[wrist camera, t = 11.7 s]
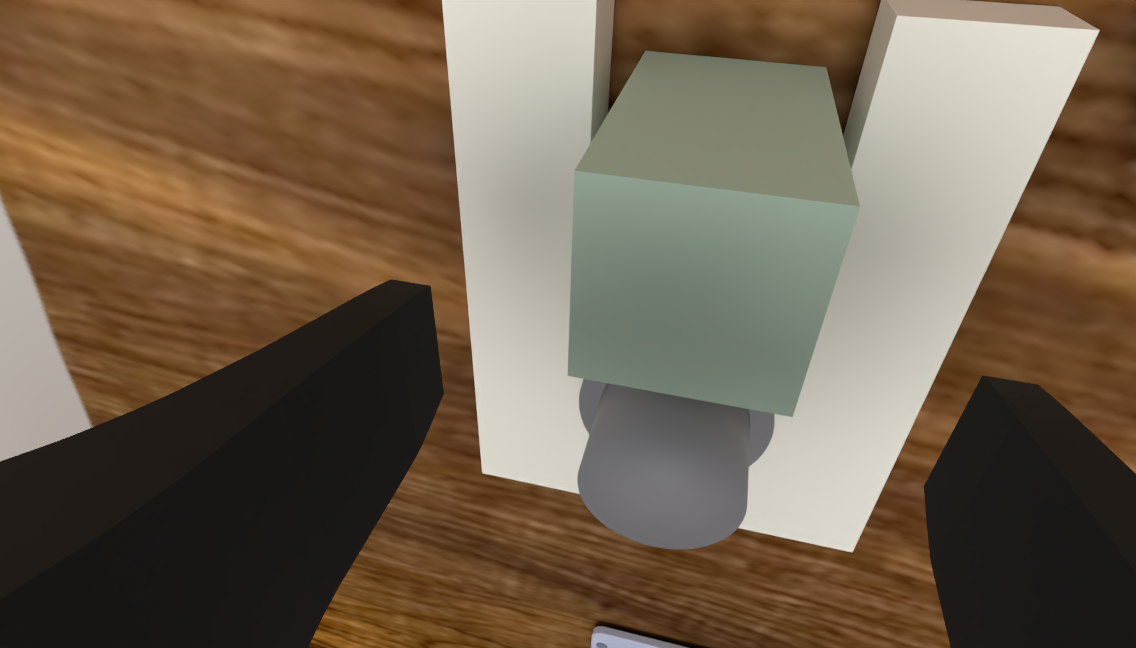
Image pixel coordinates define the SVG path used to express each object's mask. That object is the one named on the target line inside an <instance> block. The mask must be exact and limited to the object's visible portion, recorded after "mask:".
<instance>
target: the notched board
mask: <svg viewBox="0 0 1136 648" xmlns="http://www.w3.org/2000/svg"><path fill="white" fill-rule="evenodd" d="M614 2H615V0H442V6H443V17H444V29H445V41H446V53H447V65H448V76H449V88H450V100H451V112H452V123H453V135H454V147H455V159H456V170H457V182H458V194H459V206H460V217H461V229H462V241H463V253H464V265H465V276H466V288H467V300H468V312H469V323H470V335H471V347H472V359H473V370H474V382H475V394H476V406H477V417H478V429H479V441H480V453H481V465H482V473H485V474H489V475H494V476H499V477H503V478H508V479H513V480H517V481H522V482H527V483H531V484H536V485H541V486H545V487H550V488H555V489H559V490H564V491H569V492H573V493H578V494H580V495H581V498H582V500H583V502H584V503H585V505H586V507H587V508H588V509H589V511H590V512H591V513H592V514H593V515H594V516H595V517H596V518H597V519H598V520H599V521H600V522H601V523H603V524H604V525H605V526H607V527H608V528H610V529H611V530H613V531H614V532H616V533H618V534H620V535H621V536H624V537H626V538H628V539H630V540H633V541H636V542H638V543H641V544H645V545H649V546H653V547H659V548H666V549H693V548H700V547H704V546H708V545H712V544H714V543H717V542H719V541H721V540H723V539H725V538H727V537H728V536H729V535H731V534H732V533H733V532H734V531H735V530H736V529H737V528H741V529H746V530H750V531H755V532H760V533H764V534H769V535H774V536H778V537H783V538H788V539H792V540H797V541H802V542H806V543H811V544H816V545H820V546H825V547H830V548H834V549H839V550H844V551H848V552H853V550H854V548H855V546H856V544H857V542H858V540H859V537H860V535H861V533H862V531H863V529H864V527H865V525H866V523H867V521H868V518H869V516H870V514H871V512H872V510H873V508H874V506H875V504H876V502H877V499H878V497H879V495H880V493H881V491H882V489H883V487H884V485H885V483H886V480H887V478H888V476H889V474H890V472H891V470H892V468H893V466H894V464H895V461H896V459H897V457H898V455H899V453H900V451H901V449H902V447H903V445H904V442H905V440H906V438H907V436H908V434H909V432H910V430H911V428H912V426H913V423H914V421H915V419H916V417H917V415H918V413H919V411H920V409H921V407H922V404H923V402H924V400H925V398H926V396H927V394H928V392H929V390H930V388H931V385H932V383H933V381H934V379H935V377H936V375H937V373H938V371H939V369H940V366H941V364H942V362H943V360H944V358H945V356H946V354H947V352H948V350H949V347H950V345H951V343H952V341H953V339H954V337H955V335H956V333H957V331H958V328H959V326H960V324H961V322H962V320H963V318H964V316H965V314H966V312H967V309H968V307H969V305H970V303H971V301H972V299H973V297H974V295H975V293H976V290H977V288H978V286H979V284H980V282H981V280H982V278H983V276H984V274H985V271H986V269H987V267H988V265H989V263H990V261H991V259H992V257H993V255H994V252H995V250H996V248H997V246H998V244H999V242H1000V240H1001V238H1002V236H1003V233H1004V231H1005V229H1006V227H1007V225H1008V223H1009V221H1010V219H1011V217H1012V214H1013V212H1014V210H1015V208H1016V206H1017V204H1018V202H1019V200H1020V198H1021V195H1022V193H1023V191H1024V189H1025V187H1026V185H1027V183H1028V181H1029V179H1030V176H1031V174H1032V172H1033V170H1034V168H1035V166H1036V164H1037V162H1038V160H1039V157H1040V155H1041V153H1042V151H1043V149H1044V147H1045V145H1046V143H1047V141H1048V138H1049V136H1050V134H1051V132H1052V130H1053V128H1054V126H1055V124H1056V122H1057V119H1058V117H1059V115H1060V113H1061V111H1062V109H1063V107H1064V105H1065V103H1066V100H1067V98H1068V96H1069V94H1070V92H1071V90H1072V88H1073V86H1074V84H1075V81H1076V79H1077V77H1078V75H1079V73H1080V71H1081V69H1082V67H1083V65H1084V62H1085V60H1086V58H1087V56H1088V54H1089V52H1090V50H1091V48H1092V46H1093V43H1094V41H1095V39H1096V37H1097V35H1098V33H1099V31H1100V30H1098V29H1097V28H1095V27H1093V26H1092V25H1090V24H1088V23H1087V22H1085V21H1083V20H1081V19H1080V18H1078V17H1076V16H1075V15H1073V14H1071V13H1070V12H1068V11H1066V10H1065V9H1063V8H1061V7H1057V6H1043V5H1028V4H1013V3H998V2H983V1H968V0H881V2H880V6H879V9H878V13H877V16H876V20H875V24H874V27H873V31H872V34H871V38H870V41H869V45H868V49H867V52H866V56H865V59H864V63H863V66H862V70H861V74H860V77H859V81H858V84H857V88H856V91H855V95H854V99H853V102H852V106H851V109H850V113H849V116H848V120H847V124H846V127H845V131H844V134H843V138H844V142H845V147H846V151H847V155H848V159H849V163H850V167H851V171H852V175H853V180H854V184H855V188H856V192H857V196H858V200H859V204H860V209H859V212H858V215H857V218H856V221H855V224H854V227H853V230H852V233H851V237H850V240H849V243H848V246H847V249H846V252H845V255H844V258H843V261H842V265H841V268H840V271H839V274H838V277H837V280H836V283H835V286H834V290H833V293H832V296H831V299H830V302H829V305H828V308H827V311H826V314H825V318H824V321H823V324H822V327H821V330H820V333H819V336H818V339H817V343H816V346H815V349H814V352H813V355H812V358H811V361H810V364H809V367H808V371H807V374H806V377H805V380H804V383H803V386H802V389H801V392H800V395H799V399H798V402H797V405H796V408H795V411H794V414H793V417H789V416H783V415H778V414H773V413H767V412H762V411H756V410H751V409H745V408H740V407H734V406H729V405H724V404H718V403H713V402H707V401H702V400H696V399H691V398H685V397H680V396H675V395H669V394H664V393H658V392H653V391H647V390H642V389H636V388H631V387H626V386H620V385H615V384H609V383H604V382H598V381H593V380H587V379H582V378H577V377H571V376H568V347H569V317H570V287H571V257H572V228H573V198H574V170H575V169H576V167H577V165H578V164H579V162H580V160H581V159H582V157H583V155H584V154H585V152H586V150H587V149H588V147H589V145H590V143H591V142H592V140H593V138H594V137H595V135H596V133H597V132H598V130H599V128H600V127H601V125H602V123H603V121H604V120H605V118H606V116H607V115H608V105H609V87H610V70H611V53H612V36H613V19H614Z"/></svg>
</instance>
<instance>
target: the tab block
mask: <svg viewBox="0 0 1136 648" xmlns="http://www.w3.org/2000/svg"><path fill="white" fill-rule="evenodd" d="M859 209H860V204H859V200H858V196H857V192H856V188H855V184H854V180H853V175H852V171H851V167H850V163H849V159H848V155H847V151H846V147H845V142H844V138H843V134H842V130H841V126H840V122H839V118H838V114H837V109H836V105H835V101H834V97H833V93H832V89H831V85H830V81H829V76H828V72H827V68H826V67H817V66H807V65H796V64H785V63H774V62H763V61H752V60H741V59H730V58H719V57H708V56H697V55H686V54H675V53H664V52H653V51H645V52H644V54H643V56H642V57H641V59H640V61H639V62H638V64H637V66H636V67H635V69H634V71H633V73H632V74H631V76H630V78H629V79H628V81H627V83H626V84H625V86H624V88H623V89H622V91H621V93H620V94H619V96H618V98H617V100H616V101H615V103H614V105H613V106H612V108H611V110H610V111H609V113H608V115H607V116H606V118H605V120H604V121H603V123H602V125H601V127H600V128H599V130H598V132H597V133H596V135H595V137H594V138H593V140H592V142H591V143H590V145H589V147H588V149H587V150H586V152H585V154H584V155H583V157H582V159H581V160H580V162H579V164H578V165H577V167H576V169H575V170H574V198H573V228H572V257H571V287H570V317H569V347H568V376H571V377H577V378H582V379H587V380H593V381H598V382H604V383H609V384H615V385H620V386H626V387H631V388H636V389H642V390H647V391H653V392H658V393H664V394H669V395H675V396H680V397H685V398H691V399H696V400H702V401H707V402H713V403H718V404H724V405H729V406H734V407H740V408H745V409H751V410H756V411H762V412H767V413H773V414H778V415H783V416H789V417H793V414H794V411H795V408H796V405H797V402H798V399H799V395H800V392H801V389H802V386H803V383H804V380H805V377H806V374H807V371H808V367H809V364H810V361H811V358H812V355H813V352H814V349H815V346H816V343H817V339H818V336H819V333H820V330H821V327H822V324H823V321H824V318H825V314H826V311H827V308H828V305H829V302H830V299H831V296H832V293H833V290H834V286H835V283H836V280H837V277H838V274H839V271H840V268H841V265H842V261H843V258H844V255H845V252H846V249H847V246H848V243H849V240H850V237H851V233H852V230H853V227H854V224H855V221H856V218H857V215H858V212H859Z"/></svg>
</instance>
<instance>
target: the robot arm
mask: <svg viewBox="0 0 1136 648" xmlns="http://www.w3.org/2000/svg"><path fill="white" fill-rule="evenodd" d="M443 394H444V392H443V384H442V376H441V367H440V359H439V351H438V343H437V335H436V327H435V319H434V310H433V302H432V294H431V286H428V285H422V284H415V283H409V282H403V281H397V280H389V281H387V282H385V283H382V284H380V285H378V286H376V287H374V288H372V289H370V290H368V291H366V292H364V293H363V294H361V295H359V296H357V297H355V298H353V299H351V300H350V301H348V302H346V303H344V304H342V305H340V306H339V307H337V308H335V309H333V310H331V311H330V312H328V313H326V314H324V315H322V316H321V317H319V318H317V319H315V320H313V321H311V322H310V323H308V324H306V325H304V326H302V327H300V328H299V329H297V330H295V331H293V332H291V333H289V334H288V335H286V336H284V337H282V338H280V339H278V340H277V341H275V342H273V343H271V344H269V345H267V346H266V347H264V348H262V349H260V350H258V351H256V352H254V353H252V354H250V355H248V356H246V357H244V358H242V359H240V360H238V361H236V362H234V363H232V364H230V365H228V366H226V367H224V368H222V369H220V370H218V371H216V372H214V373H212V374H210V375H208V376H206V377H204V378H202V379H200V380H198V381H196V382H194V383H192V384H190V385H188V386H186V387H184V388H182V389H180V390H178V391H176V392H174V393H172V394H169V395H167V396H165V397H163V398H161V399H159V400H156V401H154V402H152V403H150V404H147V405H145V406H143V407H140V408H138V409H136V410H134V411H131V412H129V413H127V414H124V415H122V416H119V417H117V418H114V419H112V420H110V421H107V422H105V423H102V424H100V425H97V426H95V427H93V428H90V429H88V430H85V431H83V432H81V433H78V434H75V435H73V436H70V437H68V438H65V439H62V440H60V441H57V442H54V443H52V444H49V445H46V446H43V447H40V448H38V449H35V450H32V451H29V452H26V453H23V454H20V455H18V456H15V457H12V458H9V459H6V460H3V461H1V462H0V648H308V646H309V644H310V642H311V640H312V638H313V636H314V634H315V631H316V629H317V627H318V625H319V623H320V621H321V619H322V617H323V615H324V613H325V611H326V609H327V607H328V606H329V604H330V602H331V600H332V598H333V596H334V595H335V593H336V591H337V589H338V587H339V585H340V584H341V582H342V580H343V579H344V577H345V575H346V574H347V572H348V570H349V569H350V567H351V565H352V564H353V562H354V560H355V559H356V557H357V555H358V554H359V552H360V550H361V549H362V547H363V545H364V544H365V542H366V540H367V539H368V537H369V535H370V534H371V532H372V530H373V529H374V527H375V525H376V524H377V522H378V520H379V519H380V517H381V515H382V514H383V512H384V510H385V509H386V507H387V505H388V504H389V502H390V500H391V499H392V497H393V495H394V494H395V492H396V490H397V489H398V487H399V485H400V483H401V482H402V480H403V478H404V477H405V475H406V473H407V472H408V470H409V468H410V466H411V465H412V463H413V461H414V459H415V458H416V456H417V454H418V452H419V450H420V448H421V446H422V444H423V441H424V439H425V437H426V435H427V432H428V430H429V428H430V426H431V423H432V421H433V418H434V416H435V413H436V411H437V408H438V406H439V404H440V401H441V399H442V396H443ZM924 493H925V506H926V519H927V531H928V540H929V549H930V558H931V564H932V569H933V573H934V578H935V582H936V586H937V591H938V595H939V599H940V604H941V608H942V612H943V616H944V621H945V625H946V629H947V633H948V637H949V642H950V646H951V648H1136V474H1135V473H1134V472H1133V471H1132V470H1131V469H1130V468H1129V467H1128V466H1127V465H1126V464H1125V463H1124V462H1123V461H1121V460H1120V459H1119V458H1118V457H1117V456H1116V455H1115V454H1114V453H1113V452H1112V451H1111V450H1110V449H1109V448H1108V447H1107V446H1106V445H1104V444H1103V443H1102V442H1101V441H1100V440H1099V439H1098V438H1097V437H1096V436H1095V435H1094V434H1093V433H1092V432H1091V431H1090V430H1088V429H1087V428H1086V427H1085V426H1084V425H1083V424H1082V423H1081V422H1080V421H1079V420H1078V419H1077V418H1076V417H1074V416H1073V415H1072V414H1071V413H1070V412H1069V411H1068V410H1067V409H1066V408H1065V407H1063V406H1062V405H1061V404H1060V403H1059V402H1058V401H1057V400H1056V399H1054V398H1053V397H1052V396H1051V395H1050V394H1048V393H1047V392H1046V391H1045V390H1044V389H1042V388H1041V387H1040V386H1039V385H1037V384H1031V383H1024V382H1018V381H1012V380H1006V379H1000V378H994V377H988V376H982V377H981V379H980V381H979V383H978V385H977V387H976V389H975V391H974V393H973V394H972V396H971V398H970V400H969V402H968V404H967V406H966V408H965V410H964V411H963V413H962V415H961V417H960V419H959V421H958V423H957V425H956V427H955V429H954V430H953V432H952V434H951V436H950V438H949V440H948V442H947V444H946V446H945V447H944V449H943V451H942V453H941V455H940V457H939V459H938V461H937V463H936V465H935V466H934V468H933V470H932V472H931V474H930V476H929V478H928V480H927V482H926V483H925V485H924ZM591 648H688V647H684V646H680V645H676V644H672V643H668V642H664V641H660V640H656V639H652V638H648V637H644V636H640V635H636V634H632V633H628V632H624V631H620V630H616V629H612V628H608V627H604V626H597V627H595V628H594V629H593V633H592V638H591Z"/></svg>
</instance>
